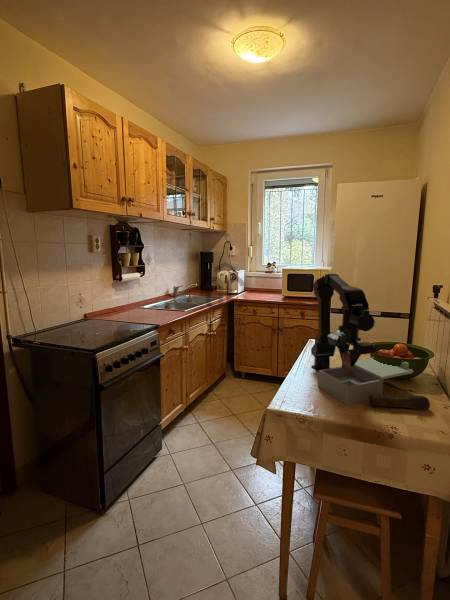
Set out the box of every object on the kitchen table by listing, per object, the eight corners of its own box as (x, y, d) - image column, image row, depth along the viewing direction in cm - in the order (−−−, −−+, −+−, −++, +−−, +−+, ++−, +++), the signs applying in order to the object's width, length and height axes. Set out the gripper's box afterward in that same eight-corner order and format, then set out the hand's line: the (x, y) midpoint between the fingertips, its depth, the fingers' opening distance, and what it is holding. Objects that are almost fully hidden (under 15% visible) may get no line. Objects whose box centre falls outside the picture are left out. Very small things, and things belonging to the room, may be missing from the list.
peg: (339, 367, 119) (340, 351, 118) (347, 365, 120) (348, 350, 119) (346, 371, 115) (347, 355, 114) (355, 369, 117) (356, 354, 116)
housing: (317, 386, 124) (318, 370, 123) (349, 379, 130) (350, 364, 129) (347, 404, 110) (348, 387, 108) (381, 396, 115) (383, 379, 114)
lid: (348, 364, 129) (349, 356, 128) (378, 358, 134) (379, 351, 134) (381, 379, 114) (382, 371, 113) (413, 372, 120) (413, 364, 119)
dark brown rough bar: (371, 409, 107) (372, 396, 107) (368, 403, 111) (369, 390, 110) (432, 414, 104) (434, 401, 103) (427, 408, 108) (428, 395, 107)
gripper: (316, 319, 120) (314, 358, 123) (351, 332, 103) (348, 377, 106) (339, 317, 124) (337, 355, 127) (377, 329, 107) (373, 372, 110)
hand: (347, 364), depth 118 cm, fingers closed on peg, 4 cm apart
